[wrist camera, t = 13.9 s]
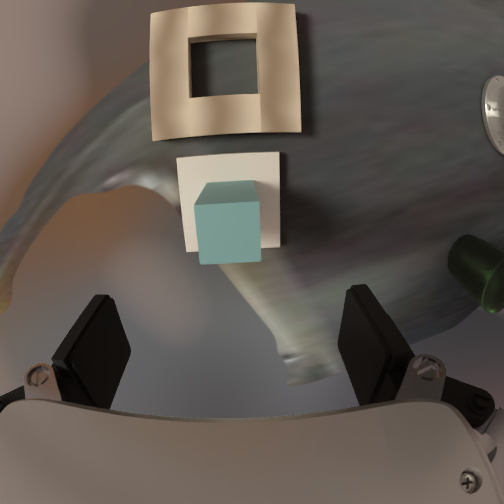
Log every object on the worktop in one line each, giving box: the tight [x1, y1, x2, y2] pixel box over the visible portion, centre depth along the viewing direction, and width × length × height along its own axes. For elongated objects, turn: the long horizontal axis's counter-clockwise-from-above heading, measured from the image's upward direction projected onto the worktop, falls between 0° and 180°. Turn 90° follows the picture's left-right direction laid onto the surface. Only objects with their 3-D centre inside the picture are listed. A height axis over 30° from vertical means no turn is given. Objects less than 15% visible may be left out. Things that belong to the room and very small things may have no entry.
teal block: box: [194, 180, 261, 264], centre depth 24 cm, size 4×4×9 cm
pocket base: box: [150, 3, 301, 141], centre depth 23 cm, size 14×14×2 cm
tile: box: [177, 151, 280, 252], centre depth 29 cm, size 10×10×1 cm
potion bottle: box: [448, 235, 504, 313], centre depth 25 cm, size 8×8×18 cm
